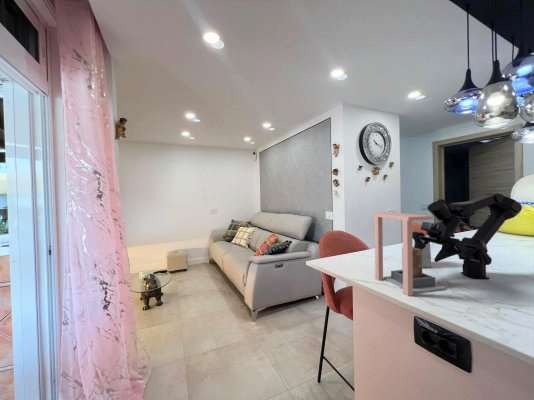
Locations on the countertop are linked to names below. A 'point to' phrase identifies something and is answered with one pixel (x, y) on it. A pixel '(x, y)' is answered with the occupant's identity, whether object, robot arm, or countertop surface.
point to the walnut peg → (416, 262)
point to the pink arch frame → (407, 246)
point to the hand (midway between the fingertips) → (423, 257)
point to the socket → (415, 282)
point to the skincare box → (425, 255)
